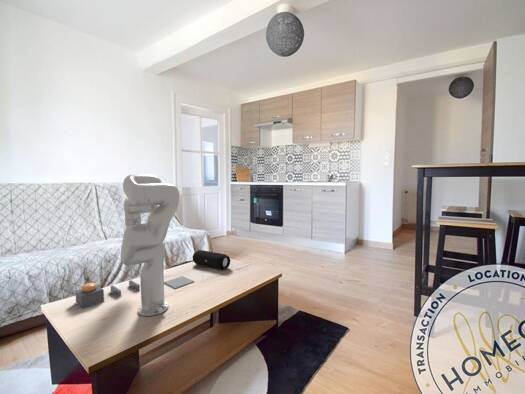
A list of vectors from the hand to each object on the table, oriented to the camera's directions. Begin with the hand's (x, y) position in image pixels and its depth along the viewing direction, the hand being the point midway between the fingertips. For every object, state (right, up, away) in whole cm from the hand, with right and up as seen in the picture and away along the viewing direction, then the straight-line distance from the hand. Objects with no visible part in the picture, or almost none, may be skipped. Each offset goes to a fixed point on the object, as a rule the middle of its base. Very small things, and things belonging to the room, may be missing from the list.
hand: (134, 255), depth 137 cm
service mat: (+20, -17, +10) cm, 28 cm away
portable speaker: (+33, -16, +36) cm, 51 cm away
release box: (-15, -19, -13) cm, 28 cm away
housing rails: (-5, -18, 0) cm, 19 cm away
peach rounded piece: (-15, -18, -13) cm, 27 cm away
